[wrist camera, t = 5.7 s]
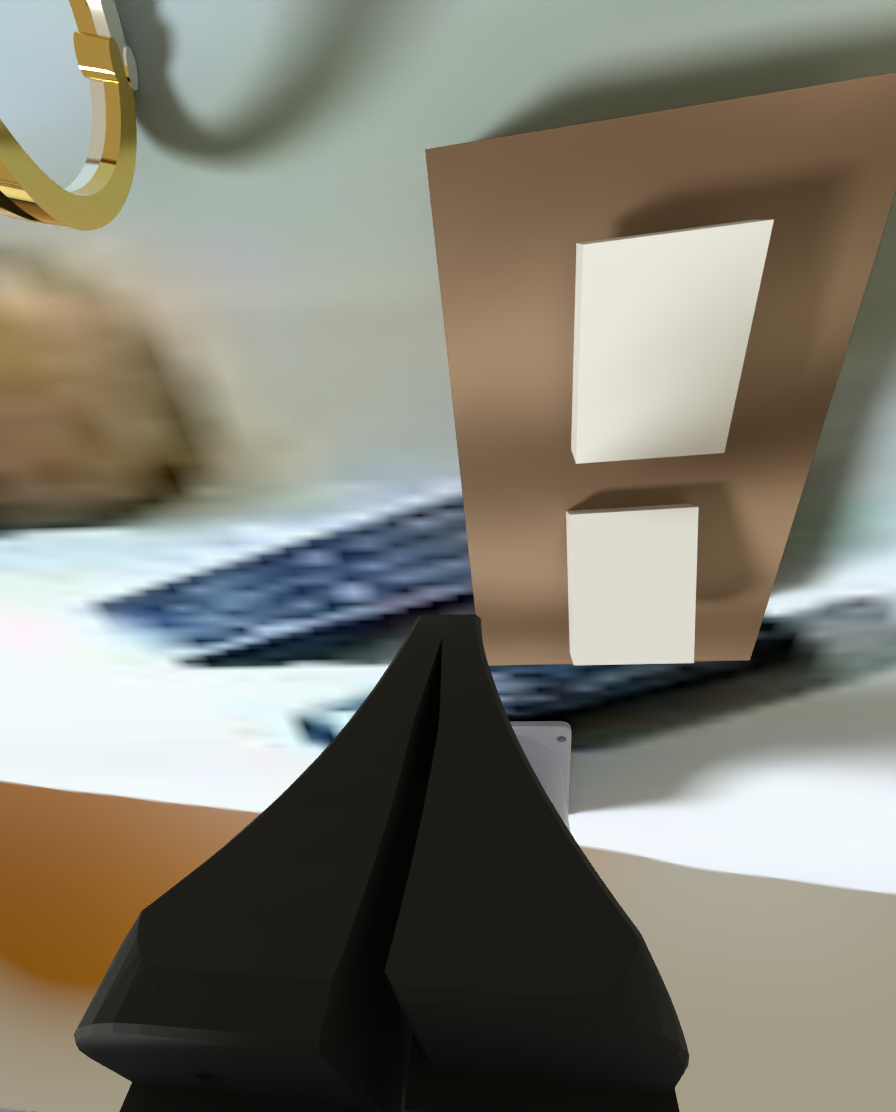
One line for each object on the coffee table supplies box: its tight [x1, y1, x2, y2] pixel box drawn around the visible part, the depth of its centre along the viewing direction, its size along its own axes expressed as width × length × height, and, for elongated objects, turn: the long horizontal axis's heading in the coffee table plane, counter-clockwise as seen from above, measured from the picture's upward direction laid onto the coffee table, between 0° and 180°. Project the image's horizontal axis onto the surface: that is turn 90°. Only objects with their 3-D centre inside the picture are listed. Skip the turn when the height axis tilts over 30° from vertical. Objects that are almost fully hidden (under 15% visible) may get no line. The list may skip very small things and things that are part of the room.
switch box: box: [425, 72, 896, 665], centre depth 15 cm, size 16×10×4 cm, turn 7°
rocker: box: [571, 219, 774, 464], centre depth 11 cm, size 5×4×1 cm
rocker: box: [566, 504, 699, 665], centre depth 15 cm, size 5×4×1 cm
